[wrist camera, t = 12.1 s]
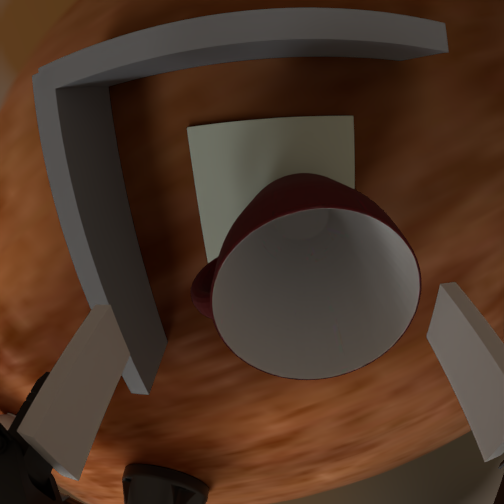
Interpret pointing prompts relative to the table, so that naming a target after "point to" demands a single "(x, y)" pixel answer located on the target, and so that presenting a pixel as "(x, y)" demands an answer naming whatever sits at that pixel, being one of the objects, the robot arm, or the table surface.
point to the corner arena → (194, 141)
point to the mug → (310, 280)
